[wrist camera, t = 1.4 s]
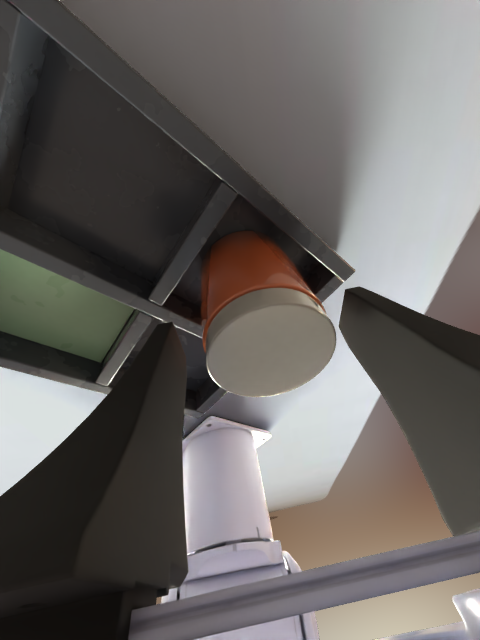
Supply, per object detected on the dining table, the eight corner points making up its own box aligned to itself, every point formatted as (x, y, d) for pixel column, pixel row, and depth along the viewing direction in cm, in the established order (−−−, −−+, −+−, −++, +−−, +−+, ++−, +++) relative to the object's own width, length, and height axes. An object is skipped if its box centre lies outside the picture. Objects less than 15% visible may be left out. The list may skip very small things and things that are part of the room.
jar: (250, 321, 16) (275, 410, 11) (182, 285, 14) (176, 376, 9) (304, 263, 14) (366, 339, 9) (236, 208, 12) (267, 271, 7)
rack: (198, 394, 21) (199, 418, 19) (-36, 321, 14) (-69, 349, 12) (337, 254, 14) (356, 271, 13) (34, -21, 7) (-14, -66, 6)
